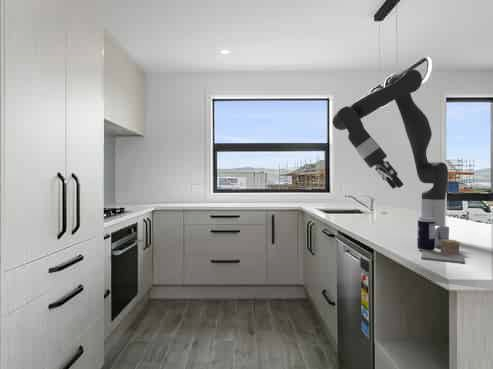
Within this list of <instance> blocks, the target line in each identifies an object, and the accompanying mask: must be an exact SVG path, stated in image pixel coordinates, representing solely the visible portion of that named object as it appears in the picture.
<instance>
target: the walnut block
mask: <svg viewBox="0 0 493 369" xmlns="http://www.w3.org/2000/svg"><path fill="white" fill-rule="evenodd" d="M440 252H443V253H454V254H460V242H459V241H457V240H456V239H449V240H441V249H440Z"/></svg>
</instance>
